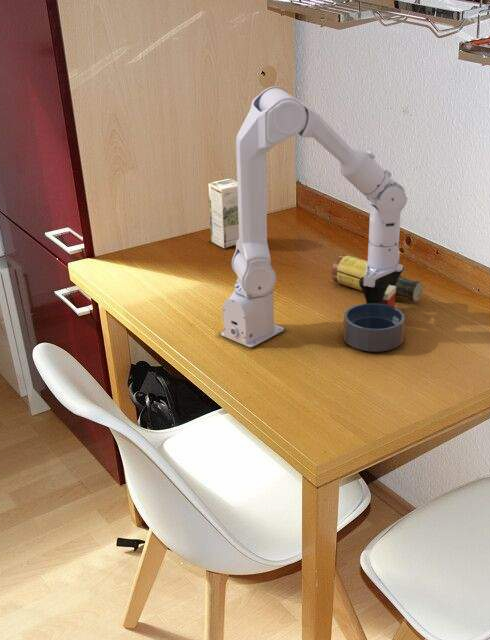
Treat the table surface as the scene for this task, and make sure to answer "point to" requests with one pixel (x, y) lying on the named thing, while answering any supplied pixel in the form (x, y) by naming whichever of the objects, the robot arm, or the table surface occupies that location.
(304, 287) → the table surface
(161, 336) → the table surface
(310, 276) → the table surface
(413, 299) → the sauce bottle
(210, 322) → the table surface
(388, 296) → the red block
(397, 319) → the bowl
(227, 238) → the syrup box
